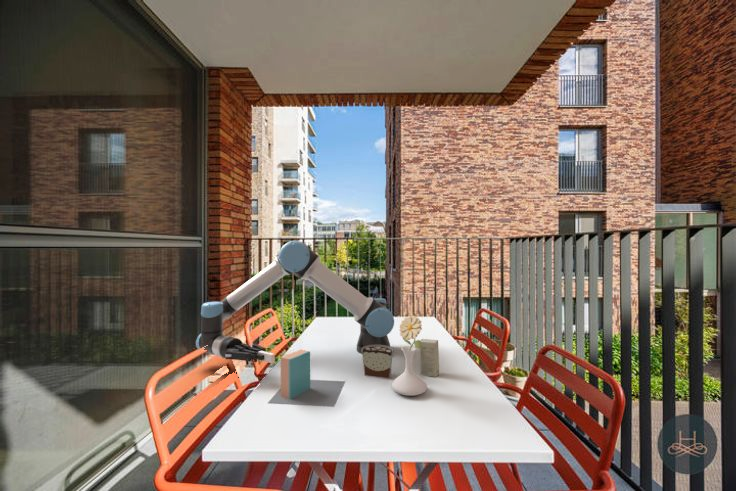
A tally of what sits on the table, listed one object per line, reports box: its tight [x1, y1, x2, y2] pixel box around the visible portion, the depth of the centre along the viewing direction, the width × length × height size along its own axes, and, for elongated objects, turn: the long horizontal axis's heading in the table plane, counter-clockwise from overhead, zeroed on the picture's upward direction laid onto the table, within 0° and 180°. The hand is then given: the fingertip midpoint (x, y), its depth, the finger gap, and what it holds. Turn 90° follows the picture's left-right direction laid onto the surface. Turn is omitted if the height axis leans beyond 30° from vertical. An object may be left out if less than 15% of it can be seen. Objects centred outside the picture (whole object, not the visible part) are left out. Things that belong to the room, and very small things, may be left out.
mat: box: [267, 379, 346, 408], centre depth 107 cm, size 20×18×1 cm
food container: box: [360, 345, 395, 380], centre depth 122 cm, size 12×6×10 cm, turn 71°
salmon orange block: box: [280, 349, 311, 399], centre depth 106 cm, size 4×9×12 cm, turn 148°
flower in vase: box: [391, 314, 428, 397], centre depth 107 cm, size 13×11×25 cm
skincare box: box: [418, 338, 440, 378], centre depth 122 cm, size 6×4×12 cm
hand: (272, 358), depth 111 cm, fingers closed
